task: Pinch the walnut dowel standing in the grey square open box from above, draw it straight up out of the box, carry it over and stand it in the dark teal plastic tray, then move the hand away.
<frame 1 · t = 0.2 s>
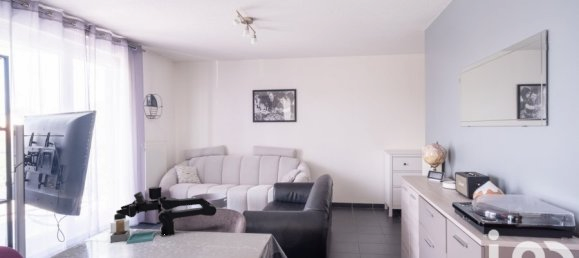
hand: (118, 209, 159), 17 cm above the table, tool horizontal, fingers open, 9 cm apart
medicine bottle: (120, 233, 170), on the table
tray: (141, 240, 157), on the table
walnut dowel: (120, 239, 156), point 1 cm above the table, touching grey square open box
grey square open box: (120, 241, 156), on the table
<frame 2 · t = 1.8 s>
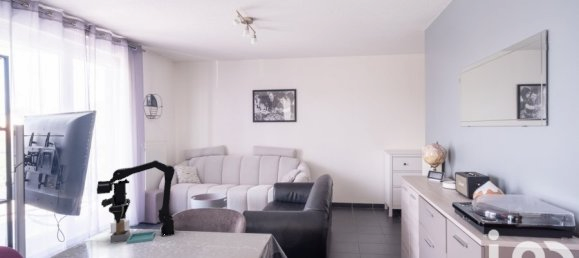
hand: (120, 220, 157), 11 cm above the table, tool pointing down, fingers open, 9 cm apart
nothing on the table moved.
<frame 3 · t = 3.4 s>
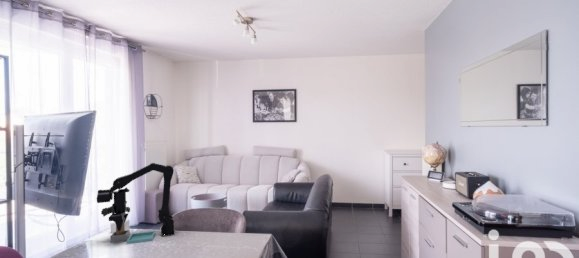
hand: (120, 229, 156), 7 cm above the table, tool pointing down, fingers closed on walnut dowel, 4 cm apart
walnut dowel: (120, 239, 156), point 1 cm above the table, touching grey square open box, gripper
everything else where it was.
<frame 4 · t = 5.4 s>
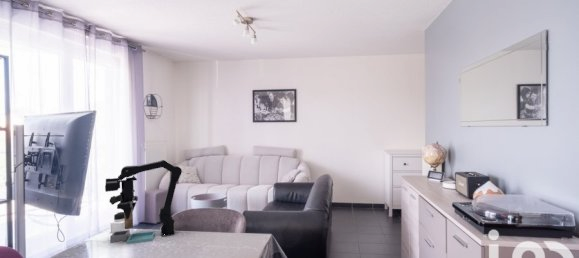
hand: (128, 217, 157), 13 cm above the table, tool pointing down, fingers closed on walnut dowel, 4 cm apart
walnut dowel: (129, 227, 157), point 7 cm above the table, touching gripper
everything else where it was.
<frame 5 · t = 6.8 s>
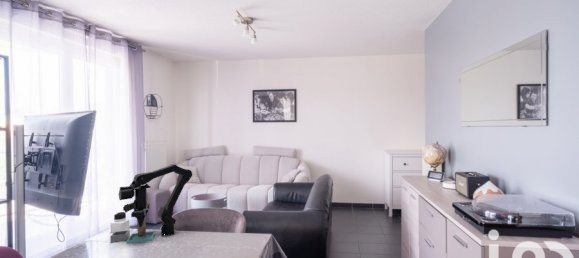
hand: (141, 225, 157), 8 cm above the table, tool pointing down, fingers closed on walnut dowel, 4 cm apart
walnut dowel: (141, 235, 157), point 3 cm above the table, touching gripper
everything else where it was.
when the fingers open (7 cm above the table, at t = 7.6 s): walnut dowel stays where it is, resting on tray.
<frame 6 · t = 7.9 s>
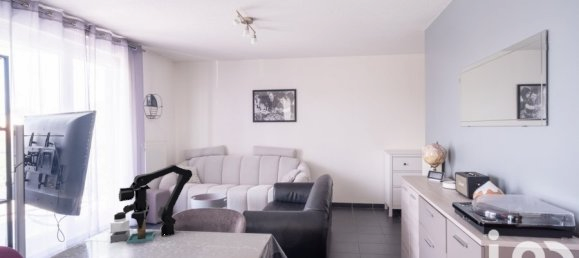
hand: (141, 226, 157), 7 cm above the table, tool pointing down, fingers open, 7 cm apart
walnut dowel: (141, 238, 157), point 1 cm above the table, touching tray
everything else where it was.
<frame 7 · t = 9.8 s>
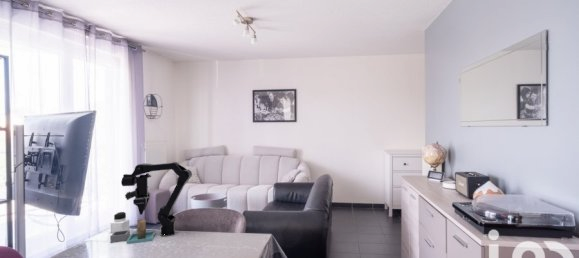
hand: (142, 212, 166), 13 cm above the table, tool pointing down, fingers open, 9 cm apart
nothing on the table moved.
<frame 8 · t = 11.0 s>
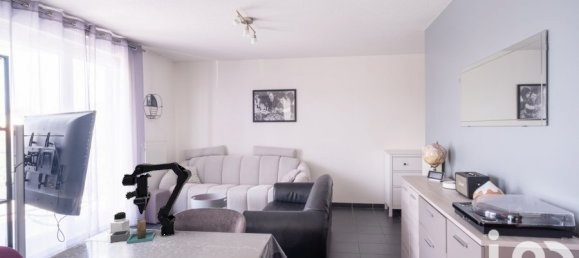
hand: (142, 212, 166), 13 cm above the table, tool pointing down, fingers open, 9 cm apart
nothing on the table moved.
at the end: walnut dowel inside the target area on the tray (0.1 cm from its centre), point 1.0 cm above the tray's base; walnut dowel tilted 0°; the gripper is holding nothing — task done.
